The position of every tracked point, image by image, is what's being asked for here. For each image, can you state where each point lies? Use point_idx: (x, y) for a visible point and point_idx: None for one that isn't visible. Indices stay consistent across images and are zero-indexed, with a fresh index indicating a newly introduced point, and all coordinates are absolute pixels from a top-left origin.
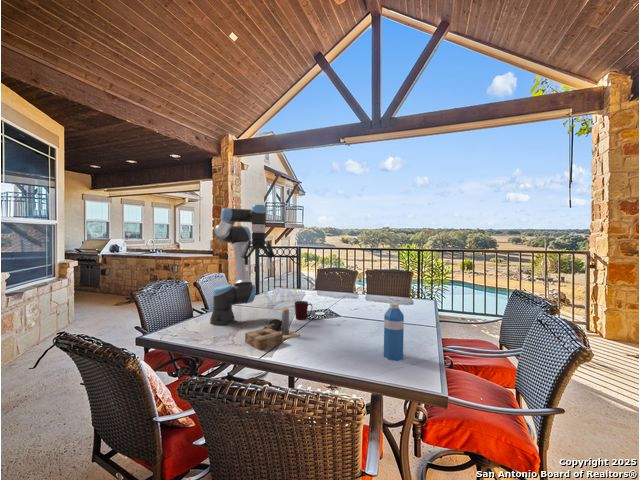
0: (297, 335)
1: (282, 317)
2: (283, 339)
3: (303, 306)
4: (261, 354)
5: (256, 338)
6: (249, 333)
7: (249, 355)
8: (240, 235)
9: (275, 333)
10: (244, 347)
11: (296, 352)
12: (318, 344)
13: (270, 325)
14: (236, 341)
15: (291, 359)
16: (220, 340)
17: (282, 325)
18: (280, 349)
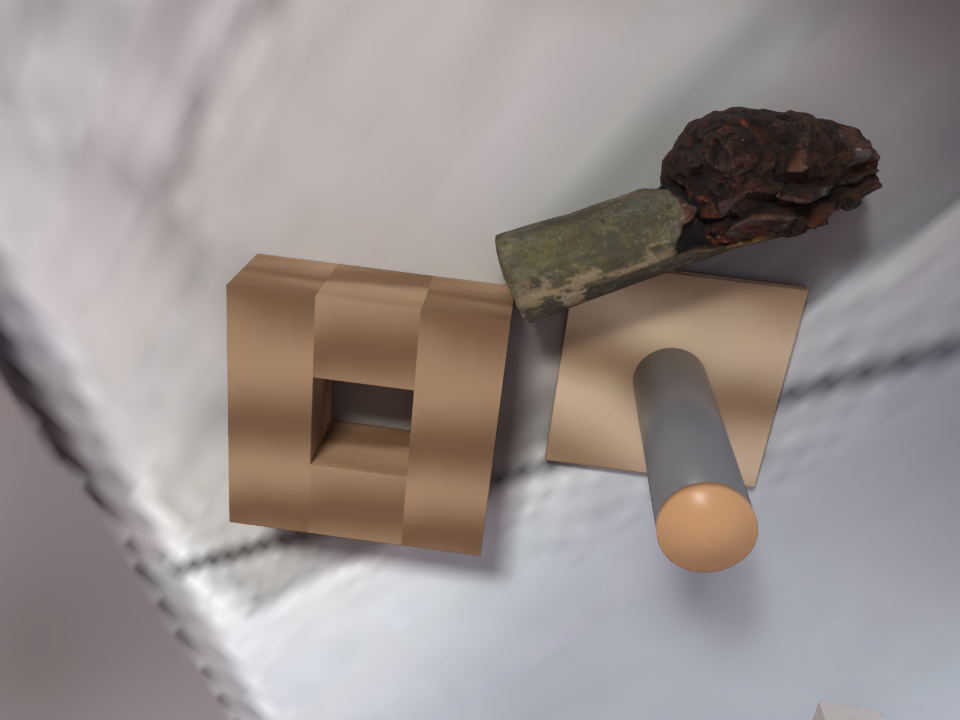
0: None
1: (648, 469)
2: (553, 456)
3: None
4: (224, 536)
5: (229, 475)
6: (253, 326)
7: (147, 489)
8: None
9: (438, 504)
10: (194, 341)
11: (430, 676)
12: (658, 701)
13: (594, 276)
14: (210, 163)
15: (326, 715)
16: (94, 6)
17: (641, 421)
18: (385, 570)
